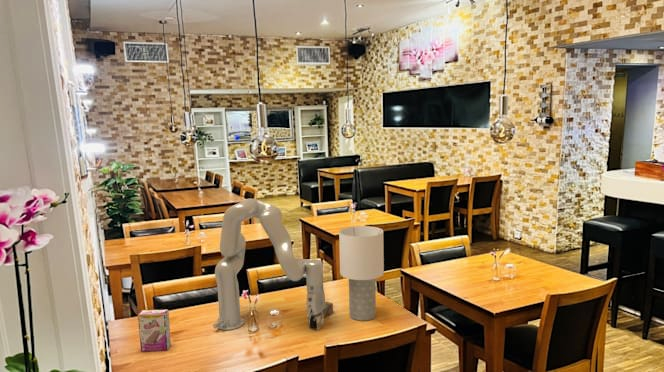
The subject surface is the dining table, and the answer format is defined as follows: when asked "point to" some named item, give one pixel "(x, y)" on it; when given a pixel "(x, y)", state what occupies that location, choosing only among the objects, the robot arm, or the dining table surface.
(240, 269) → the robot arm
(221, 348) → the dining table surface
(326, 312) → the walnut base
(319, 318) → the oak block
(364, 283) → the lamp
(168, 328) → the candy bar box
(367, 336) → the dining table surface
